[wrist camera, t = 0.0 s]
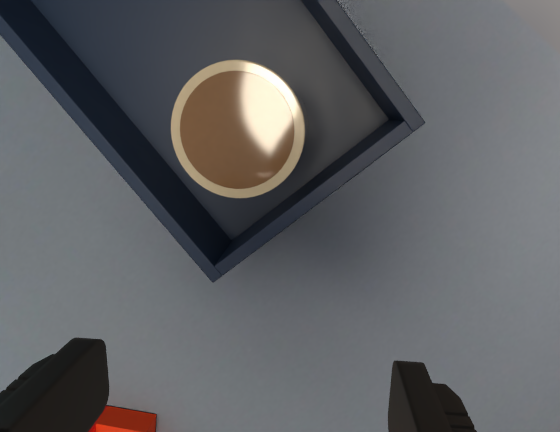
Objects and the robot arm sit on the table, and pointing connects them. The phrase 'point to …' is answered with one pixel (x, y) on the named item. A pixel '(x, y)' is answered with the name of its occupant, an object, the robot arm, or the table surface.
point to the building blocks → (124, 421)
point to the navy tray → (181, 68)
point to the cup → (239, 128)
